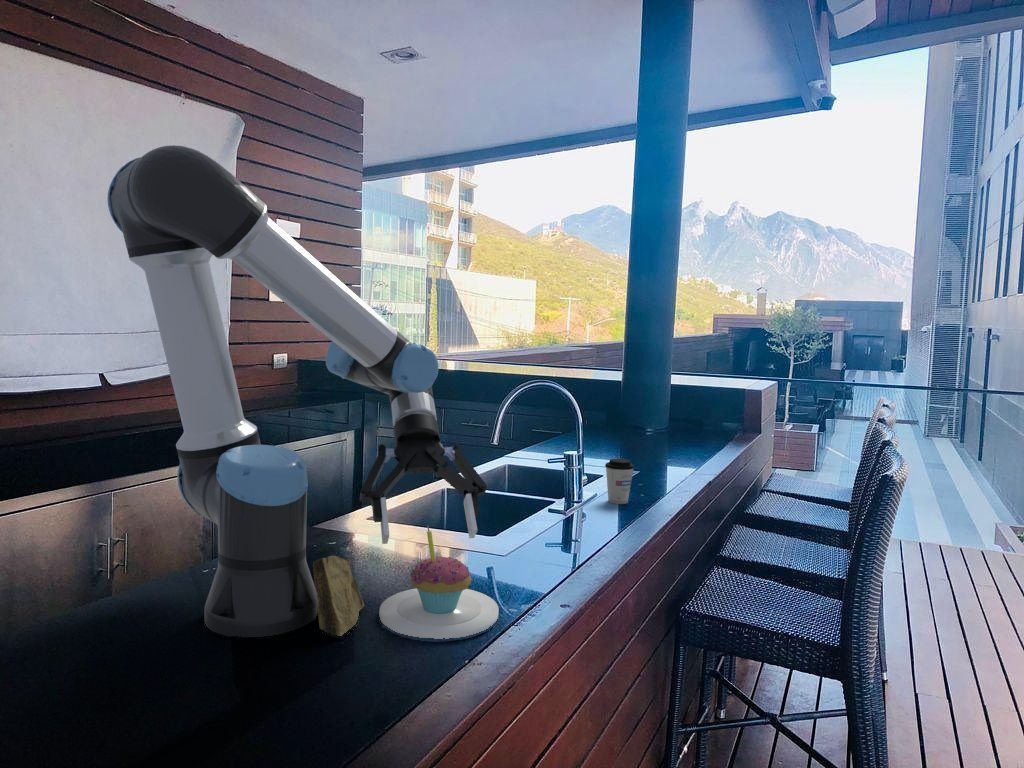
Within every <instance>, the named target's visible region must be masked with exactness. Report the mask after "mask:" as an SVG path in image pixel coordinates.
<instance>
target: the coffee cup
mask: <svg viewBox="0 0 1024 768" xmlns="http://www.w3.org/2000/svg"><path fill="white" fill-rule="evenodd" d="M604 467H605V470H606V471H605V472H606V484H607V486H606V487H607V499H608V502H609V503H611V504H617V505H624V504H628V503H629V497H630V490H631V484H632V478H633V473H634V469H635V466H634V464H633V463H631V461H630V459H626V458H610V459H609V462H606V463H605V465H604Z"/></svg>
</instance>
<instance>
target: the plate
mask: <svg viewBox="0 0 1024 768" xmlns="http://www.w3.org/2000/svg"><path fill="white" fill-rule="evenodd" d="M499 613H500V612H499V605H498V604H497V602H496V601H495V599H493V598H492V597H490V596H488V595H486V594H485V593H482V592H479V591H476V590H473V589H469V588H467V589H465V590H463V591H462V593H461V595H460V597H459V600H458V603H457V607H456V609H455V610H453V611H451V612H449V613H443V614H436V613H430V612H428V611H426V610H424V608H423V605H422V602H421V598H420V595H419V592H418V590H417V588H410V589H407V590H404V591H400V592H397V593H394V594H393V595H391V596H389V597H388V598H386V599H385V600H384V601H383V602H382V603H381V604H380V606H379V613H378V614H379V616H378V618H379V617H380V620H381V622H382V623H383V624H384V625H385V626H387V627H388V628H390V629H391V630H393V631H395V632H397V633H400V634H404V635H408V636H413V637H419V638H434V639H443V638H445V639H449V638H460V637H466V636H469V635H473V634H476V633H479V632H481V631H484V630H486V629H488V628H489V627H490V626H492V625H493V624H494V623H495V622H496V621H497V619H498V620H499ZM380 620H379V621H380Z"/></svg>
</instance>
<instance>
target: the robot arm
mask: <svg viewBox="0 0 1024 768" xmlns="http://www.w3.org/2000/svg"><path fill="white" fill-rule="evenodd" d="M107 190H108V192H107V207H108V212H109V215H110V217H111V219H112V221H113V222H114V224H115V225H116V227H117V228H118V229H119V231H121V233H122V235H123V238H124V239H123V240H124V242H125V248H126V251H127V255H128V258H129V259H128V260H129V261H130V262H132V263H133V264H135V265H137V267H139V268H140V269H142V270H143V271H144V273H145V278H146V283H147V286H148V290H149V291H148V292H149V294H150V298H151V299H150V300H151V301H152V302H151V303H152V306H153V310H154V314H155V319H156V323H157V327H158V332H159V335H160V338H161V339H160V340H161V342H162V348H163V351H164V356H165V359H166V364H167V367H168V371H169V372H168V373H169V376H170V379H171V380H170V381H171V384H172V388H173V391H174V392H173V393H174V396H175V401H176V404H177V408H178V412H179V416H180V419H181V425H182V429H183V433H182V435H181V436H180V438H178V440H177V442H176V443H175V447H176V452H177V456H178V460H179V466H178V469H177V480H176V481H177V485H178V489H179V492H180V494H181V497H182V498H183V500H184V501H185V503H186V505H188V506H189V507H190V508H191V509H192V510H193V511H194V512H196V513H197V514H198V515H200V516H203V517H205V518H206V519H207V520H208V521H211V522H212V523H214V524H215V525H216V526H217V569H216V572H215V575H214V577H213V580H212V583H211V587H210V590H209V592H208V595H207V598H206V602H205V604H204V610H203V611H204V616H203V617H204V622H205V623H204V625H205V624H206V626H207V627H208V628H209V629H210V630H212V631H214V632H217V633H220V634H223V635H229V636H239V637H240V636H241V637H264V636H273V635H279V634H283V633H286V632H289V631H292V630H295V629H297V628H300V627H302V626H304V625H306V624H308V623H309V622H311V621H312V620H313V621H315V619H316V618H317V617H318V615H317V614H318V599H317V592H316V587H315V582H314V579H313V577H312V574H311V571H310V568H309V565H308V563H307V519H308V518H307V516H308V515H307V512H308V511H307V509H308V508H307V506H308V505H307V504H308V486H309V478H308V475H307V464H306V461H305V460H304V457H303V456H302V455H301V454H299V453H298V452H297V451H294V450H293V449H291V448H287V447H283V446H281V447H276V446H275V445H269V444H261V440H260V435H259V431H258V430H259V429H258V427H257V425H256V424H254V423H252V422H251V421H249V420H248V419H246V418H245V417H244V412H243V408H242V407H243V406H242V403H241V399H240V394H239V389H238V385H237V380H236V375H235V371H234V367H233V362H232V358H231V354H230V350H229V345H228V341H227V336H226V332H225V327H224V323H223V317H222V314H221V309H220V304H219V301H218V300H219V299H218V297H217V296H218V295H217V292H216V286H215V284H214V283H215V282H214V279H213V277H214V276H213V274H212V273H213V272H212V269H211V265H210V260H211V258H212V257H213V256H214V257H215V258H217V259H218V260H221V259H229V260H231V261H233V262H234V263H235V264H236V265H237V266H239V267H240V268H241V269H243V270H244V271H245V272H246V273H247V274H248V275H249V276H251V277H252V278H253V279H255V280H256V281H257V282H258V283H260V284H261V285H262V286H264V287H265V288H266V289H267V290H268V291H270V292H271V293H272V294H274V295H275V296H276V297H277V298H279V299H280V300H281V301H282V302H284V304H285V305H287V306H289V307H290V308H291V309H292V310H293V311H295V313H297V314H299V316H301V317H302V318H303V319H304V320H305V321H307V322H308V323H309V324H311V325H312V326H313V327H314V328H315V329H317V330H318V331H320V333H321V334H323V335H324V336H326V337H327V338H328V339H330V340H331V342H330V344H329V346H328V348H327V350H326V351H327V352H326V355H325V366H326V368H327V370H328V371H329V372H330V373H332V374H334V375H336V376H338V377H341V379H343V380H345V379H346V380H348V381H351V382H354V383H356V384H358V385H359V384H360V385H362V386H364V387H367V388H370V389H373V390H375V391H378V392H380V393H383V394H386V395H388V396H389V401H390V408H391V417H392V425H393V437H394V444H395V445H394V446H395V447H394V448H388V447H387V446H386V445H385V444H379V445H378V448H377V453H376V459H375V461H374V463H373V466H372V467H371V470H370V471H369V473H368V475H367V477H366V479H365V481H364V483H363V485H362V487H361V489H360V494H359V501H360V502H361V503H369V504H370V505H371V506H370V507H371V508H372V519H373V521H374V523H380V529H381V533H380V534H381V543H382V545H386V544H387V545H388V542H389V540H390V539H389V538H390V528H389V527H390V526H389V517H388V515H389V514H388V509H387V505H388V504H387V497H386V496H387V495H388V494H389V492H390V491H391V490H392V489H393V487H395V485H396V484H397V483H398V482H399V480H400V479H402V478H403V477H404V476H405V474H406V473H407V472H408V473H410V474H411V475H419V474H426V475H427V474H431V473H432V472H433V473H434V474H435V475H436V476H437V477H441V478H442V479H443V480H444V481H445V482H447V483H448V484H449V485H450V486H451V487H452V488H453V489H455V490H456V491H457V492H458V493H460V494H461V495H462V496H463V497H464V498H463V506H464V507H463V509H464V513H465V521H466V525H467V531H468V533H467V534H468V538H469V539H475V537H476V534H477V533H478V526H477V520H476V518H478V516H479V513H480V509H481V508H480V503H479V499H478V498H483V497H484V496H485V493H486V491H487V489H488V485H487V483H486V482H485V481H484V480H483V478H482V477H481V476H480V475H479V473H478V472H477V470H476V469H475V468H474V467H473V465H472V464H471V463H470V461H469V460H468V459H467V457H466V456H465V455H464V454H463V450H462V446H461V444H460V443H458V442H454V443H453V445H452V446H449V447H448V446H446V447H444V446H443V444H442V443H441V436H440V431H439V425H438V421H437V420H438V418H437V417H438V416H437V413H436V412H437V410H436V405H435V399H434V394H433V385H434V383H435V381H436V380H437V377H438V374H439V361H438V357H437V356H436V354H435V352H434V351H433V350H432V349H431V348H430V347H428V346H426V345H423V344H421V343H418V342H411V341H410V340H409V339H408V338H407V337H405V336H404V335H403V334H402V333H401V332H400V331H398V330H397V329H395V328H394V327H393V326H392V325H391V324H390V323H389V322H387V321H386V319H384V318H383V317H382V316H381V315H380V314H379V313H378V312H376V311H375V309H373V308H372V307H370V305H368V303H366V302H365V301H364V300H363V299H362V298H361V297H360V296H359V295H358V294H356V293H355V292H354V291H352V289H351V288H350V287H348V286H347V285H346V284H345V283H344V282H343V281H341V280H340V279H339V278H338V277H337V276H336V275H335V274H333V272H331V271H330V270H329V269H328V268H327V267H326V266H324V265H323V264H322V262H320V261H319V260H318V259H317V258H315V257H314V256H313V255H312V254H311V253H310V252H309V251H308V250H307V249H305V248H304V247H303V245H301V244H300V243H299V242H298V241H296V240H295V239H294V238H293V237H292V236H291V235H290V234H289V233H287V231H285V230H284V229H283V228H282V227H281V226H279V224H278V223H276V222H275V221H274V220H273V219H271V217H270V216H269V215H268V206H267V204H266V202H264V201H263V200H261V199H260V198H259V197H258V196H257V195H256V194H255V193H254V192H253V191H252V190H251V189H249V187H247V185H245V184H243V182H241V181H240V180H239V179H238V178H237V177H236V176H235V175H233V174H232V173H231V172H230V171H228V170H227V169H226V168H225V167H223V166H222V165H221V164H220V163H219V162H218V161H216V160H214V159H213V158H211V157H210V156H209V155H206V154H205V153H203V152H201V151H198V150H197V149H195V148H192V147H188V146H184V145H163V146H159V147H156V148H154V149H152V150H150V151H148V152H146V153H145V154H143V155H142V156H141V157H137V158H133V159H132V160H129V161H128V162H126V163H125V164H124V165H122V166H121V167H120V168H119V170H118V171H117V172H116V173H115V175H114V176H113V178H112V180H111V182H110V184H109V186H108V189H107ZM444 456H445V457H447V458H448V459H449V461H450V462H452V464H454V466H455V468H456V469H457V470H458V471H457V470H455V469H454V468H453V467H452V466H450V465H449V463H448V461H447V460H446V459H445V458H444ZM391 458H393V459H394V460H395V461H396V462H397V464H396V466H395V467H394V468H393V469H392V470H391V472H389V473H388V475H387V476H386V477H385V478H384V480H383V481H382V482H381V483H380V484H379V486H378V487H377V488H376V489H375V490H374V491H373V488H374V487H375V485H376V483H377V481H378V479H379V477H380V475H381V472H382V470H383V468H384V466H385V465H384V464H385V463H387V462H389V461H390V459H391ZM316 616H317V617H316ZM314 618H315V619H314ZM313 621H312V622H313ZM312 622H311V623H312ZM308 625H309V624H308ZM206 626H205V627H206ZM283 635H284V634H283ZM279 636H280V635H279Z"/></svg>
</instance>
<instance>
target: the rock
mask: <svg viewBox="0 0 1024 768" xmlns="http://www.w3.org/2000/svg"><path fill="white" fill-rule="evenodd" d="M312 563H313V564H312V567H313V583H314V586H315V589H316V592H317V599H318V615H317V617H318V627H319V630H320V629H321V630H324V631H325V632H327V633H330V634H332V635H337V636H342V635H343V634H344V633H346V632H347V631H348V630H349V629H351V628H352V627H353V626H354V625H355V624H356V622H357V620H358V619H359V618H358V616H359V611H360V610H361V609H362V610H363V609H364V607H365V603H364V600H363V596H362V594H361V592H360V588H359V584H358V582H357V580H356V578H354V576H353V572H352V569H351V562H350V561H349V560H347V559H344V558H342V557H339V556H338V555H337V556H336V555H329V556H327V557H321V558H319V559H316V560H314V561H313V562H312ZM362 610H361V611H362ZM361 611H360V612H361ZM359 617H360V616H359Z"/></svg>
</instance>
